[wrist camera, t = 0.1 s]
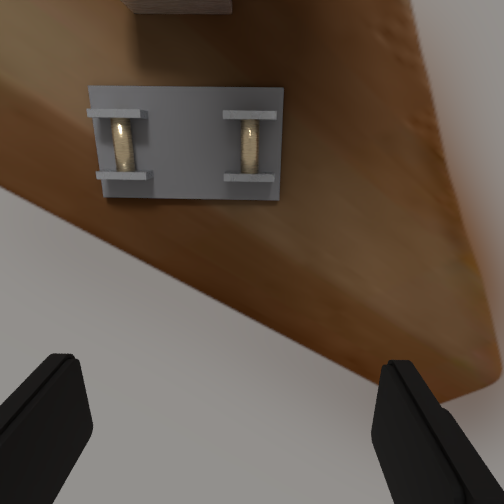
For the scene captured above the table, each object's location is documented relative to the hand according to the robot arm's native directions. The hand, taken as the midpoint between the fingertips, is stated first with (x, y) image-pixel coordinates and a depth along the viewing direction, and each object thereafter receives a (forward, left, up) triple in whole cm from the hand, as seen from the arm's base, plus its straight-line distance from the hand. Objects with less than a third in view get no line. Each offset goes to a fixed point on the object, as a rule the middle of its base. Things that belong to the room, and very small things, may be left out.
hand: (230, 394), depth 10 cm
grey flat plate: (-6, -7, -31) cm, 32 cm away
